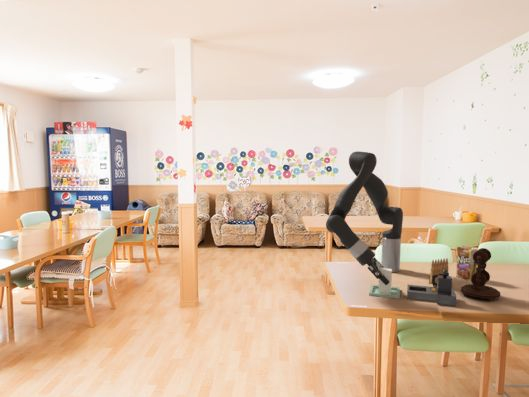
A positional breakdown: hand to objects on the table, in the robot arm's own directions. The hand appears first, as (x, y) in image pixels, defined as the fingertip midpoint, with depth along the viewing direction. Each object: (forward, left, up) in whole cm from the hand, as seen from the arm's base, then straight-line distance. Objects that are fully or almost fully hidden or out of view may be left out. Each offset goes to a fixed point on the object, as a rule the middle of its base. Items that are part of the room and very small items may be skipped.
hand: (388, 280), depth 169 cm
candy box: (-38, +35, -6) cm, 52 cm away
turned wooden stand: (-12, +37, -6) cm, 39 cm away
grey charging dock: (0, +17, -6) cm, 18 cm away
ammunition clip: (-24, +22, -6) cm, 33 cm away
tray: (0, -1, -6) cm, 6 cm away
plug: (0, -1, -5) cm, 5 cm away
